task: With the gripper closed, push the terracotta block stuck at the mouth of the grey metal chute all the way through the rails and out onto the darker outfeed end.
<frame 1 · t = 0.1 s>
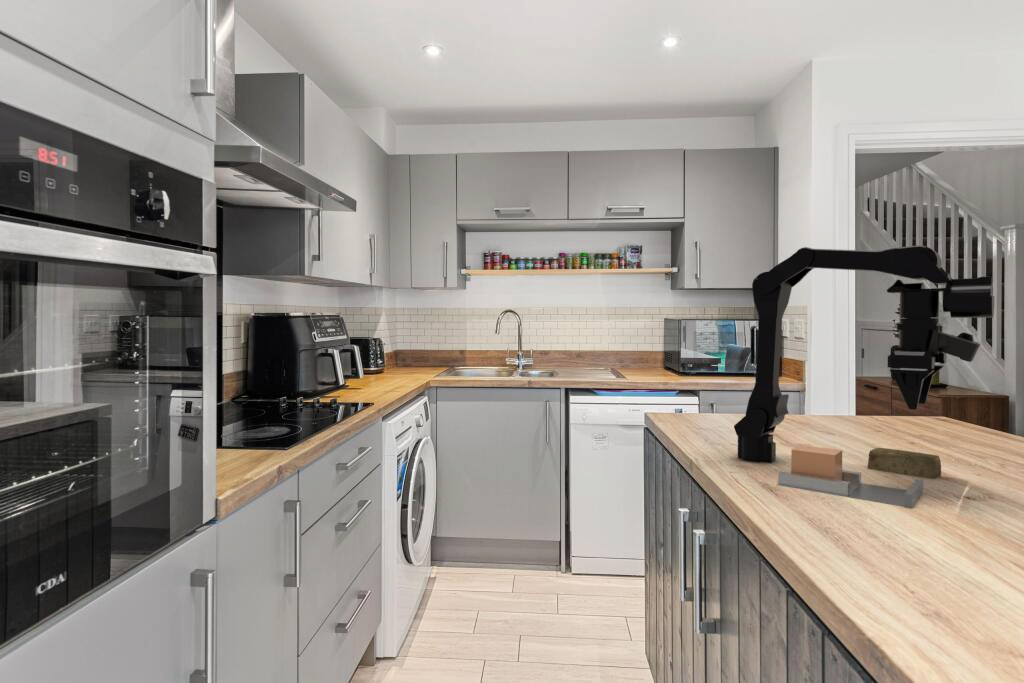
hand: (917, 406, 105), 15 cm above the countertop, fingers open, 9 cm apart
block: (816, 483, 106), point 1 cm above the countertop, touching chute
stone block: (903, 478, 114), on the countertop
chute: (835, 492, 104), on the countertop
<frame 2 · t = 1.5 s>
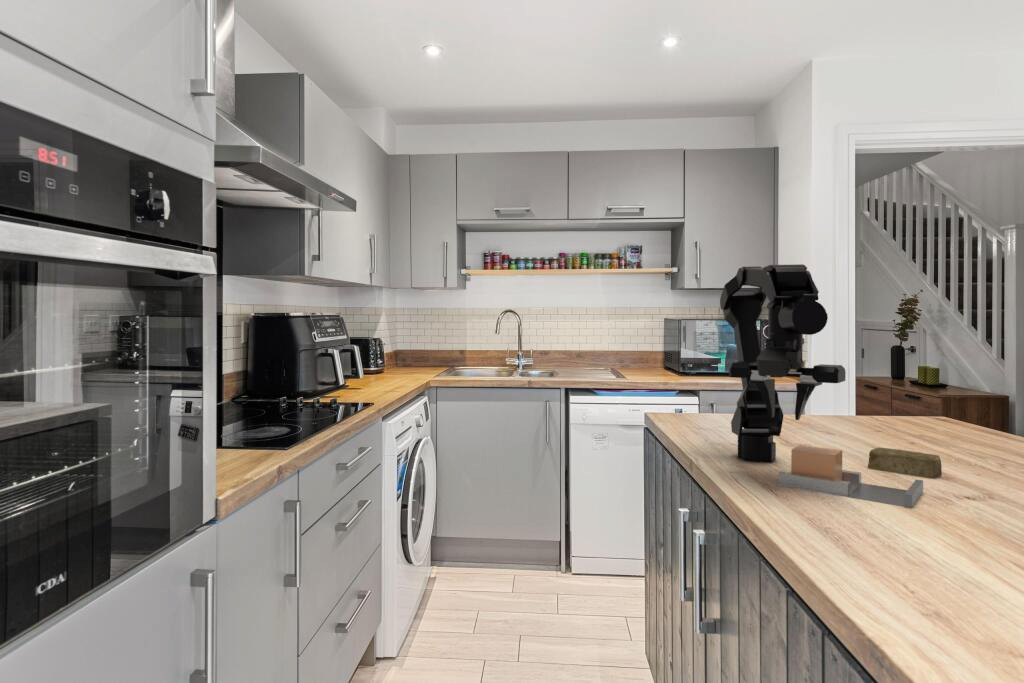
hand: (784, 418, 109), 12 cm above the countertop, fingers open, 4 cm apart
nothing on the countertop moved.
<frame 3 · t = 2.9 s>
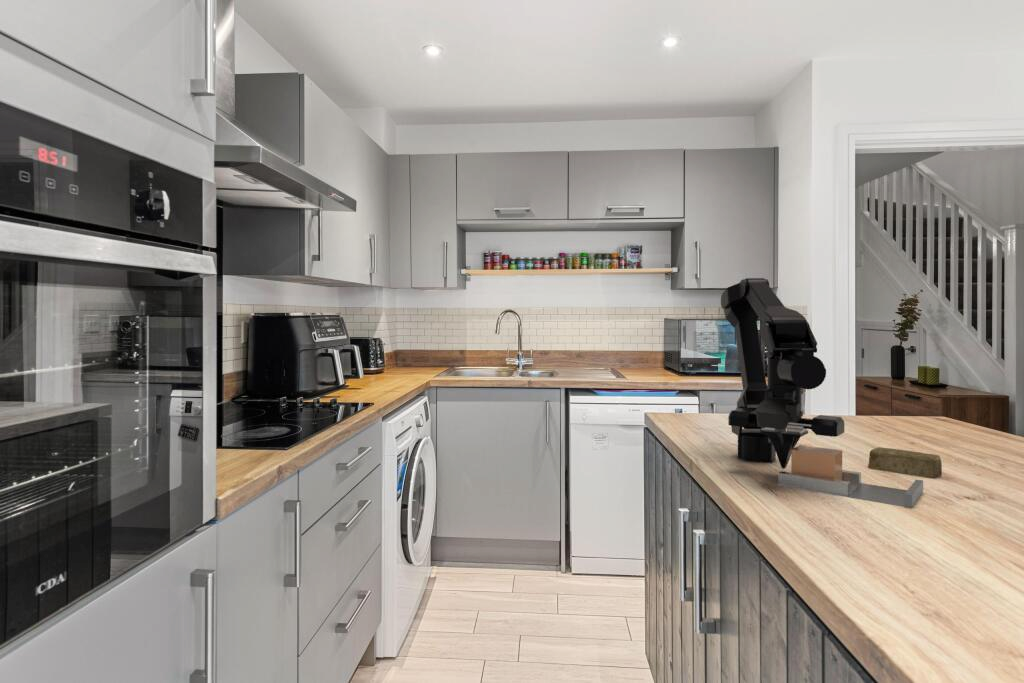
hand: (783, 468, 109), 3 cm above the countertop, fingers closed
block: (816, 483, 106), point 1 cm above the countertop, touching chute, gripper
everything else where it was.
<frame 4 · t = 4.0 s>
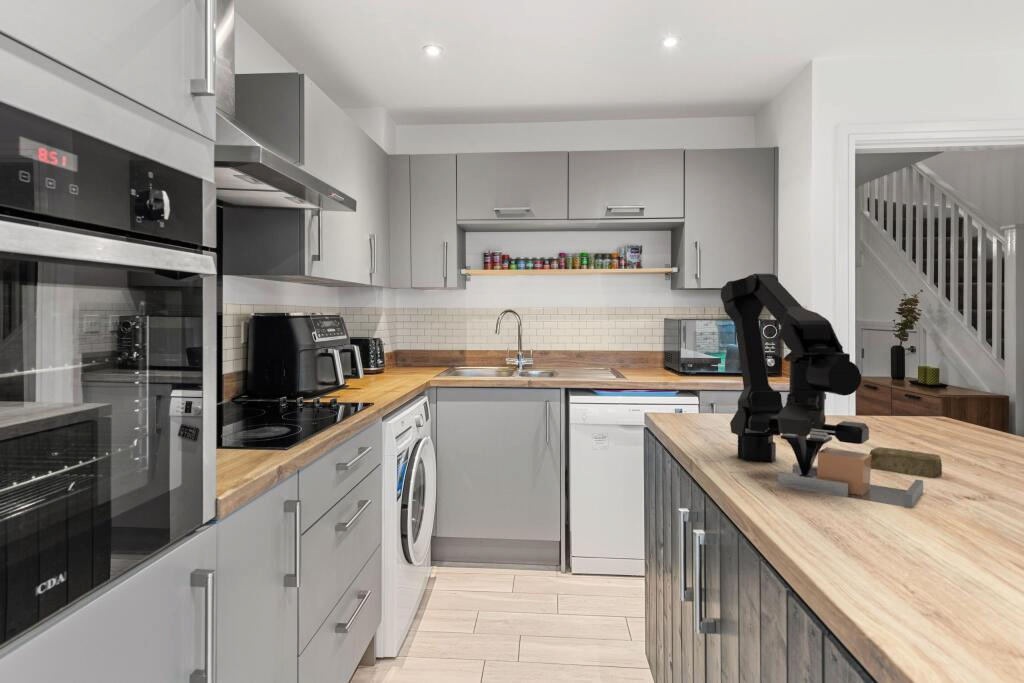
hand: (805, 474, 107), 2 cm above the countertop, fingers closed
block: (842, 487, 102), point 1 cm above the countertop, touching gripper
everything else where it was.
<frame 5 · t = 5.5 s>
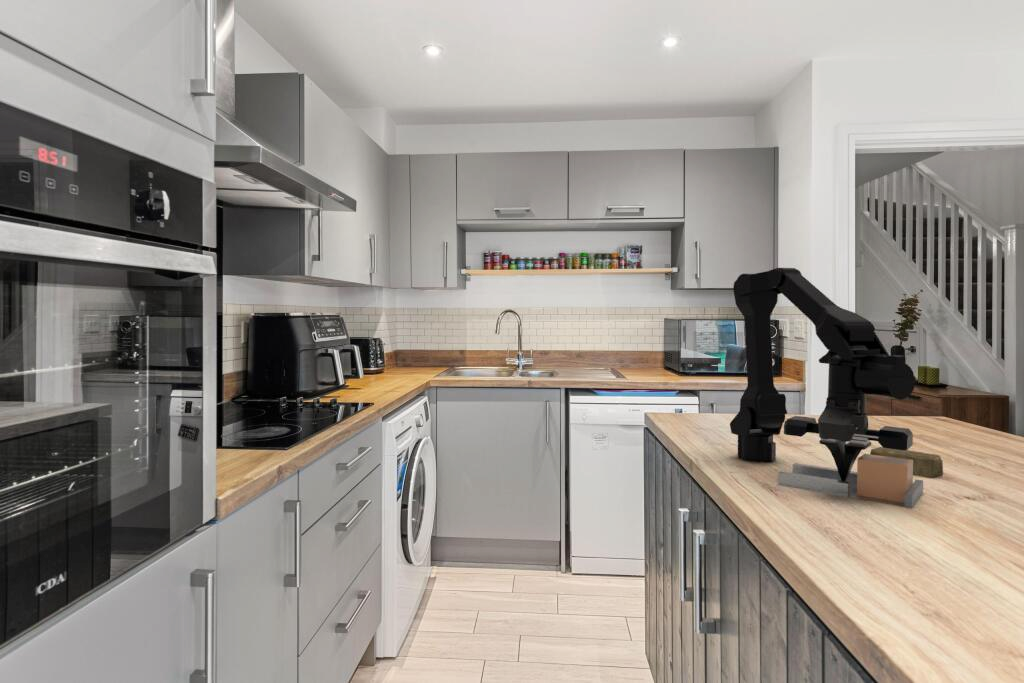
hand: (843, 481, 103), 2 cm above the countertop, fingers closed
block: (884, 495, 98), point 1 cm above the countertop, touching chute, gripper
everything else where it was.
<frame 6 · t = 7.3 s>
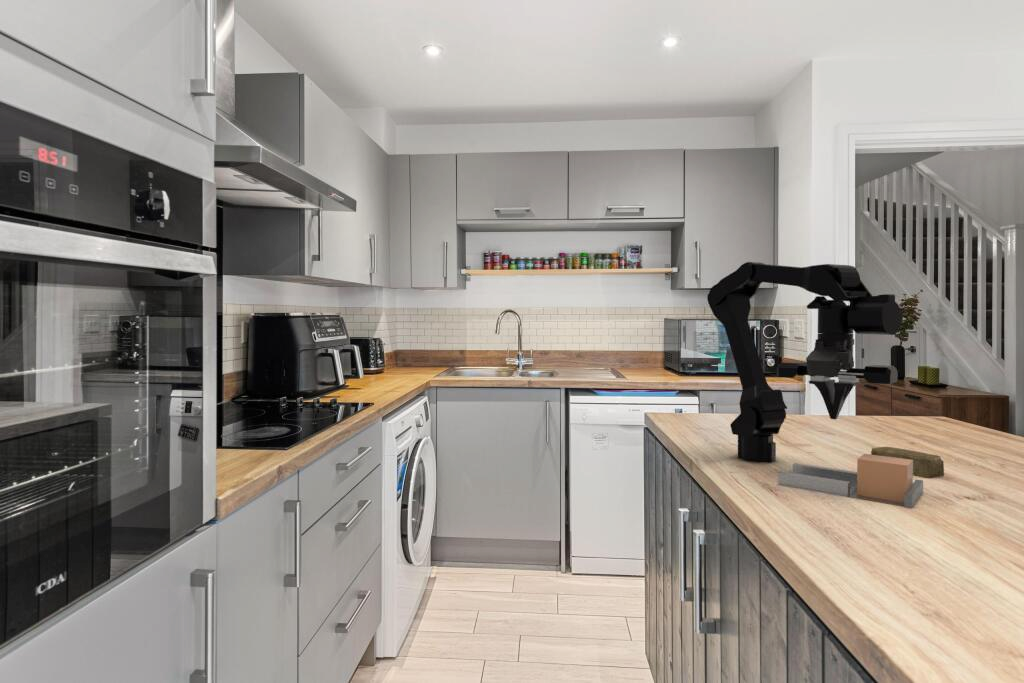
hand: (833, 419, 109), 12 cm above the countertop, fingers closed
block: (884, 495, 98), point 1 cm above the countertop, touching chute
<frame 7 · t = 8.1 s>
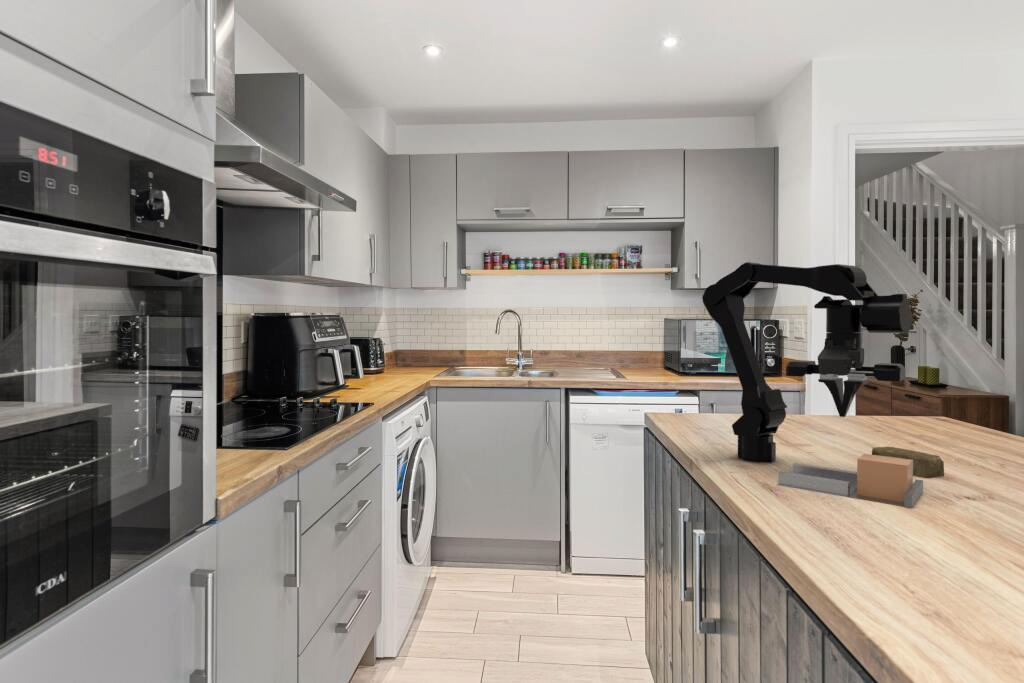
hand: (842, 416, 111), 12 cm above the countertop, fingers closed
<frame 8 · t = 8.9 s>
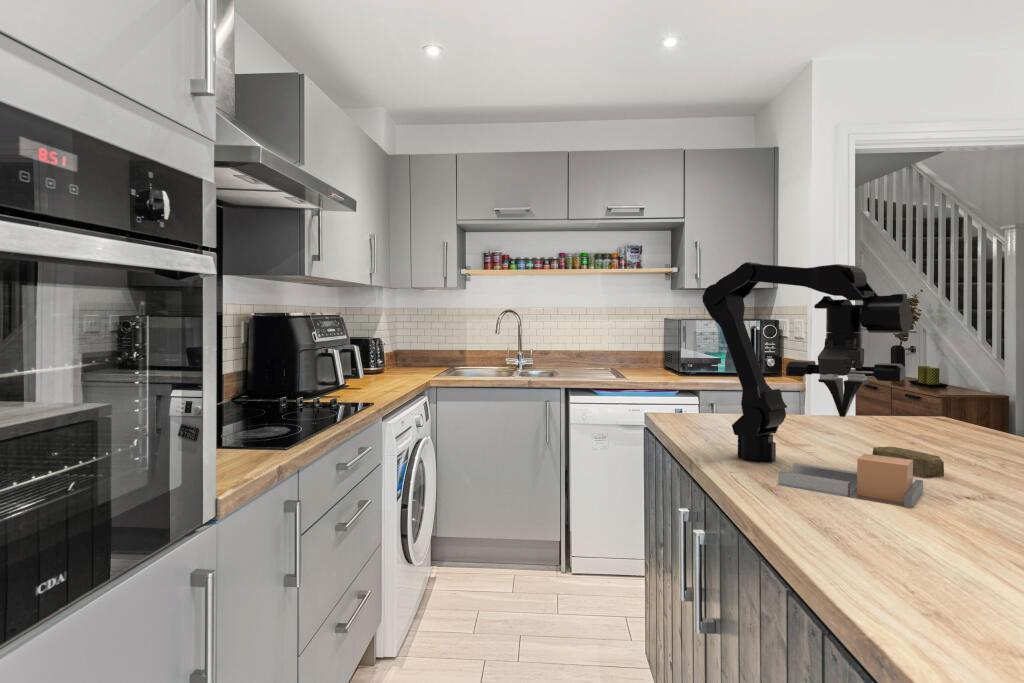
hand: (842, 416, 111), 12 cm above the countertop, fingers closed
at the end: block inside the target area on the chute (0.8 cm from its centre), point 0.9 cm above the chute's base; block tilted 0° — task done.
